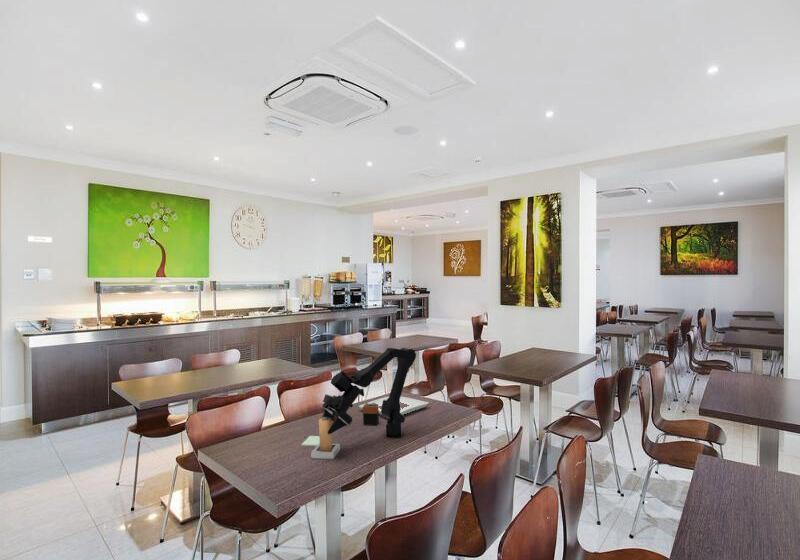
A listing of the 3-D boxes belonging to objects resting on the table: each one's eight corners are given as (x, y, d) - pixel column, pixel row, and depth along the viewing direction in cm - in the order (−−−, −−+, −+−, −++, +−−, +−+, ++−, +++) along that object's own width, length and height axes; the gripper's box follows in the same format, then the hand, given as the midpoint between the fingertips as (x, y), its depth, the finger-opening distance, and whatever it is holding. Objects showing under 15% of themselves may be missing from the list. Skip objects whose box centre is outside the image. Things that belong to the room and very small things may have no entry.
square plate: (429, 408, 229) (429, 401, 229) (394, 422, 210) (393, 414, 209) (393, 400, 248) (393, 393, 248) (357, 412, 228) (357, 404, 228)
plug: (333, 451, 175) (332, 416, 175) (329, 456, 170) (328, 420, 170) (322, 451, 176) (321, 416, 176) (318, 456, 171) (317, 419, 171)
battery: (376, 425, 205) (376, 404, 205) (363, 425, 206) (362, 404, 206) (379, 422, 209) (378, 402, 209) (365, 422, 211) (365, 401, 211)
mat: (331, 437, 191) (331, 436, 191) (323, 446, 181) (323, 445, 181) (309, 437, 193) (309, 435, 193) (301, 445, 183) (301, 444, 183)
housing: (340, 449, 177) (339, 443, 177) (333, 458, 168) (333, 452, 168) (319, 449, 178) (319, 443, 178) (311, 458, 169) (311, 452, 169)
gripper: (326, 382, 184) (301, 413, 178) (344, 391, 168) (318, 425, 162) (343, 397, 188) (320, 428, 182) (362, 407, 172) (338, 441, 166)
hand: (323, 430), depth 173 cm, fingers open, 9 cm apart
